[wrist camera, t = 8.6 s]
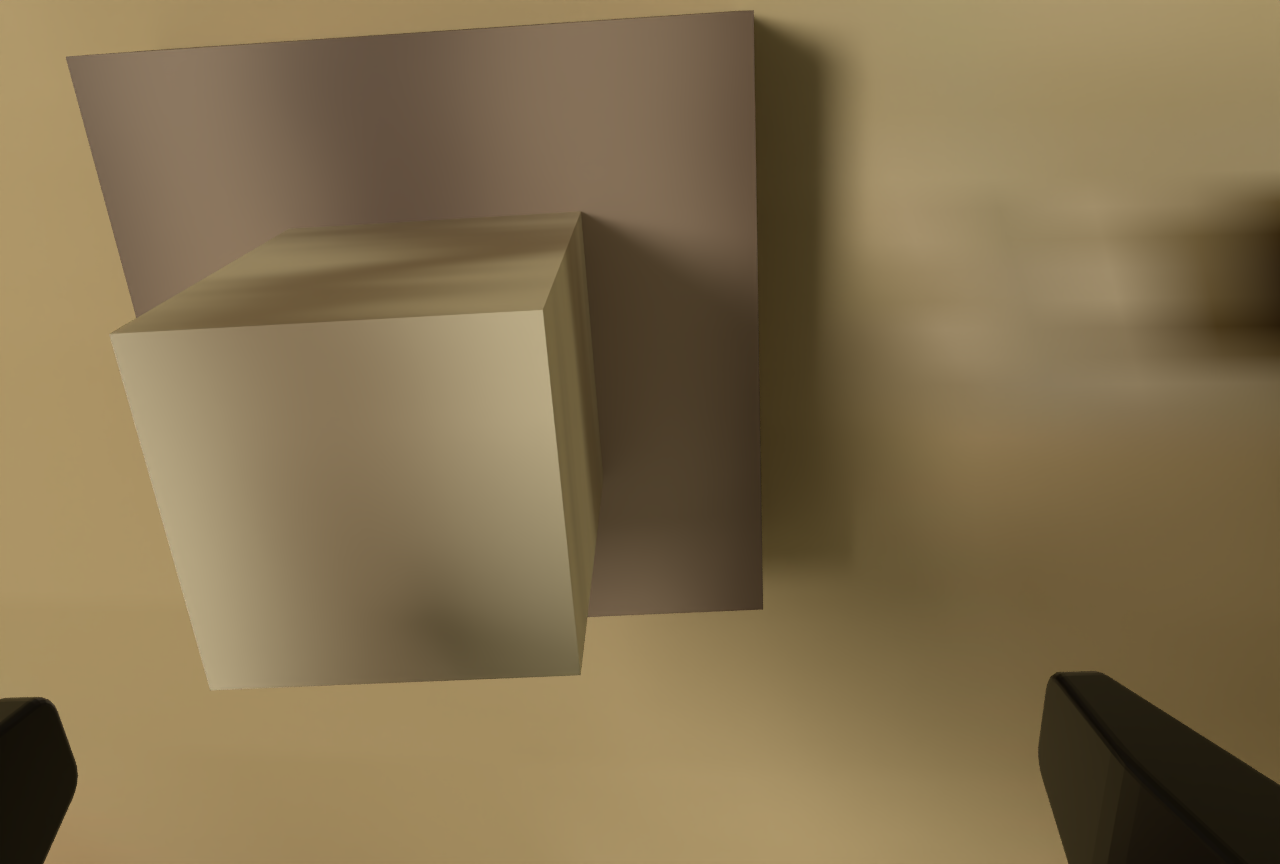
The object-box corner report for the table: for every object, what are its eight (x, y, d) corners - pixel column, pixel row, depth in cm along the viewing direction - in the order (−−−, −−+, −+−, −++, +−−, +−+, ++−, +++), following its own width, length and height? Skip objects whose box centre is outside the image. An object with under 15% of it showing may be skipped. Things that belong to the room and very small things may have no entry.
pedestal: (738, 10, 18) (753, 10, 15) (750, 536, 22) (763, 608, 20) (153, 50, 19) (65, 56, 16) (274, 557, 23) (221, 633, 20)
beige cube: (581, 211, 17) (542, 309, 11) (603, 478, 19) (580, 675, 13) (289, 228, 17) (109, 334, 11) (341, 491, 19) (210, 690, 13)
